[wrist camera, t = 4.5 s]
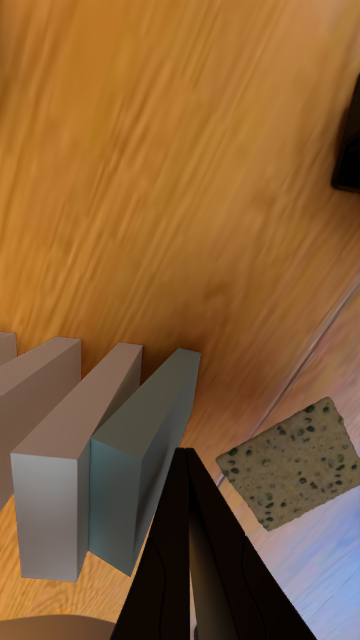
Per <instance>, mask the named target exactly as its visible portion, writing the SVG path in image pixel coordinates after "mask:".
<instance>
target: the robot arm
mask: <svg viewBox="0 0 360 640" xmlns="http://www.w3.org/2000/svg"><path fill="white" fill-rule="evenodd" d="M341 176H342V177H343V181H342V179H341ZM332 184H333V186H334V187H335V188H337V189H342V190H347V191H352V192H357V193H360V76H359V80H358V84H357V88H356V92H355V95H354V99H353V102H352V106H351V110H350V114H349V118H348V121H347V125H346V129H345V133H344V137H343V140H342V145H341V148H340V152H339V156H338V160H337V164H336V167H335V171H334V175H333V179H332ZM190 571H191V579H192V588H193V596H194V604H195V613H196V621H197V629H198V638H199V640H317V639H316V637H315V636H314V634H313V633H312V631H311V630H310V629H309V627H308V626H307V624H306V623H305V622H304V620H303V619H302V617H301V616H300V615H299V613H298V612H297V610H296V609H295V608H294V606H293V605H292V603H291V602H290V601H289V599H288V598H287V596H286V595H285V593H284V592H283V591H282V589H281V588H280V586H279V585H278V583H277V582H276V580H275V579H274V578H273V576H272V575H271V573H270V572H269V570H268V569H267V567H266V566H265V564H264V563H263V561H262V559H261V558H260V556H259V555H258V553H257V551H256V550H255V548H254V547H253V545H252V543H251V542H250V540H249V538H248V537H247V536H245V532H244V530H243V529H242V527H241V525H240V524H239V522H238V520H237V519H236V517H235V515H234V514H233V512H232V511H231V509H230V507H229V506H228V504H227V502H226V501H225V499H224V497H223V496H222V494H221V492H220V491H219V489H218V487H217V486H216V484H215V483H214V481H213V479H212V478H211V476H210V474H209V473H208V471H207V469H206V468H205V466H204V464H203V463H202V461H201V459H200V458H199V456H198V455H197V453H196V451H195V450H194V448H185V449H184V448H182V447H176V448H175V451H174V454H173V457H172V460H171V464H170V467H169V470H168V473H167V477H166V480H165V483H164V486H163V489H162V493H161V496H160V499H159V502H158V506H157V509H156V512H155V515H154V519H153V522H152V525H151V528H150V532H149V535H148V538H147V541H146V544H145V547H144V551H143V554H142V557H141V560H140V563H139V566H138V569H137V572H136V575H135V577H134V580H133V582H132V585H131V588H130V590H129V593H128V595H127V598H126V601H125V603H124V605H123V608H122V610H121V613H120V615H119V618H118V620H117V622H116V625H115V628H114V630H113V632H112V635H111V637H110V640H190Z"/></svg>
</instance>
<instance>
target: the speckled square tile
mask: <svg viewBox="0 0 360 640" xmlns="http://www.w3.org/2000/svg"><path fill="white" fill-rule="evenodd" d="M343 421H344V420H343V418H342V416H340V415H339V413H338V411H337V409H336V408H335V406H334V402H333V401H332V400H331V398H330V397H326V398H323V399H321V400H320V401H318V402H316V403H314V404H312V405H310V406H308V407H307V408H305V409H304V410H302V411H299V412H297V413H295V414H294V415H293V416H291V417H290V418H288V419H286V420H284V421H282V422H280V423H278V424H276V425H274V426H273V427H271V428H270V429H268V430H266V431H264V432H262V433H260V434H259V435H257V436H256V437H254V438H252V439H250V440H248V441H246V442H244V443H242V444H241V445H239V446H237V447H235V448H233V449H231V450H230V451H228V452H226V453H224V454H222V455H220V456H219V457H217V458H216V462H217V464H218V465H219V467H220V469H221V470H222V473H223V475H225V476H226V477H227V478H228V479H229V482H230V483H231V484H232V485H233V486H234V488H235V490H236V491H237V492H238V493H239V494H240V495H241V496H242V498H243V499H244V500H245V501H246V503H247V504H248V507H250V508H251V510H252V511H253V513H254V514H255V516H256V518H257V519H258V522H259V523H261V524H262V525H263V527H264V528H265V529H266V530H267V531H271V530H273V529H276V528H278V527H280V526H282V525H283V524H285V523H287V522H290V521H292V520H293V519H295V518H298V517H300V516H301V515H303V514H304V513H305V512H308V511H310V510H311V509H314V508H315V507H317V506H319V505H322V504H324V503H326V502H327V501H329V500H331V499H334V498H335V497H336V496H338V495H340V494H343V493H345V492H346V491H349V490H350V489H352V488H354V487H357V486H359V485H360V458H359V457H358V455H357V453H356V451H355V449H354V446H353V444H352V442H351V441H350V437H349V435H348V433H347V431H346V428H345V427H344V423H343Z"/></svg>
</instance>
